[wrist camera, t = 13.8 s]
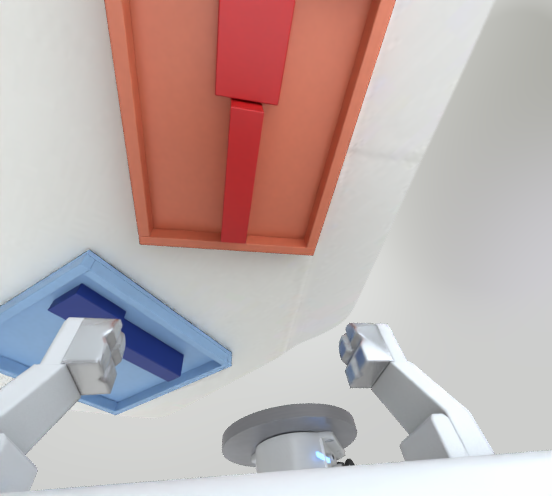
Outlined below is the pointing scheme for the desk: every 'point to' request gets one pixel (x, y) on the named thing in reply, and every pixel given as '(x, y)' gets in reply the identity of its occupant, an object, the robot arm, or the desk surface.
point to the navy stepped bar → (138, 342)
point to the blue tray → (139, 310)
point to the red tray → (216, 112)
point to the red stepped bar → (248, 93)
